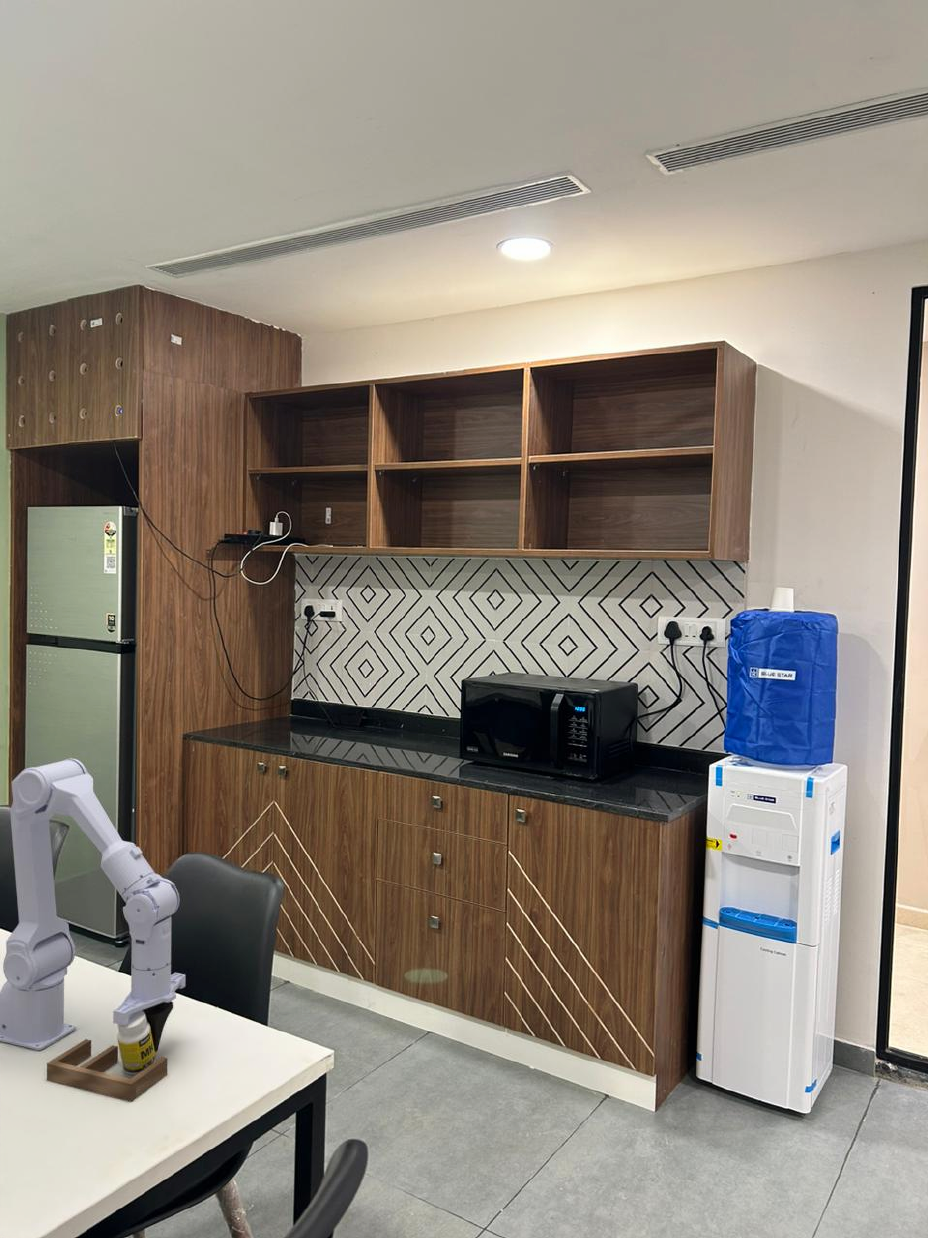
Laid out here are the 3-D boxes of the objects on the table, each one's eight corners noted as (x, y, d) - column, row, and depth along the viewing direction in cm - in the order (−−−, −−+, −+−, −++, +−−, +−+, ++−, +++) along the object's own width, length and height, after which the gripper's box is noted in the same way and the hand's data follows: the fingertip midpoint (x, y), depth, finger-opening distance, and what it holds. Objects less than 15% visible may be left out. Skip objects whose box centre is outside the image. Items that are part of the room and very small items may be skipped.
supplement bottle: (148, 1077, 141) (139, 1031, 138) (117, 1075, 141) (108, 1029, 138) (161, 1052, 145) (152, 1007, 142) (132, 1051, 146) (122, 1006, 143)
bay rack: (46, 1080, 139) (46, 1063, 139) (85, 1055, 147) (85, 1039, 147) (131, 1102, 134) (131, 1084, 134) (167, 1074, 142) (167, 1058, 141)
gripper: (141, 986, 137) (141, 1079, 137) (202, 950, 150) (201, 1034, 151) (101, 978, 139) (101, 1069, 140) (164, 943, 153) (163, 1027, 153)
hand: (150, 1051), depth 145 cm, fingers closed, pressing on supplement bottle
